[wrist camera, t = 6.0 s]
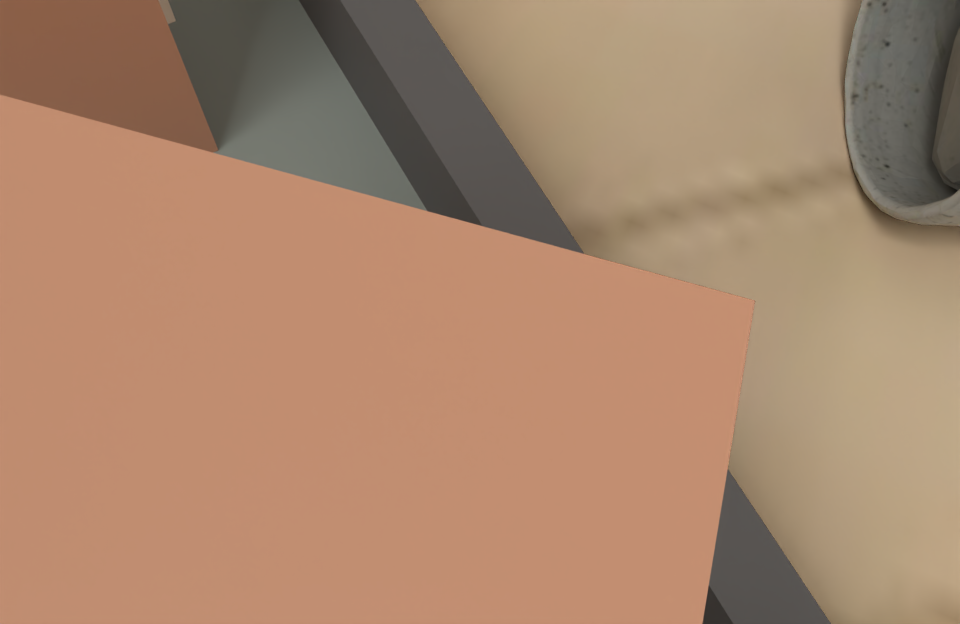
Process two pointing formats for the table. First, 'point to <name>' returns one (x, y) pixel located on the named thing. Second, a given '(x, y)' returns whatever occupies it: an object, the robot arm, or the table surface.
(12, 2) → the tea box
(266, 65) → the display shelf
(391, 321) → the tea box
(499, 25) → the table surface
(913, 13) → the ceramic mug
